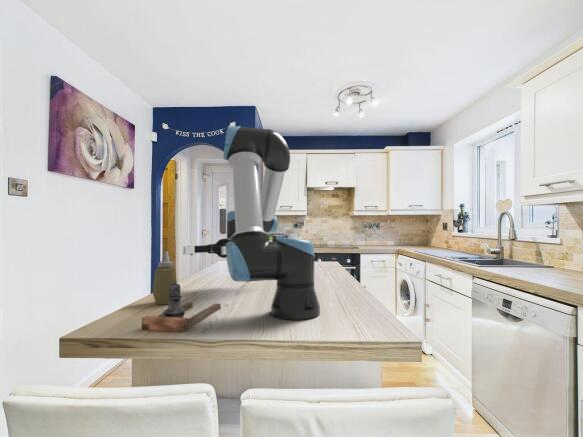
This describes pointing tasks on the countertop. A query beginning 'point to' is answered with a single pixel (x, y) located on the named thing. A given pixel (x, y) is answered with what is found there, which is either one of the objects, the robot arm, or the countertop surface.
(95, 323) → the countertop surface
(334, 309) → the countertop surface
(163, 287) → the squeeze bottle
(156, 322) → the track
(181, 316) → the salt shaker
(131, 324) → the countertop surface
